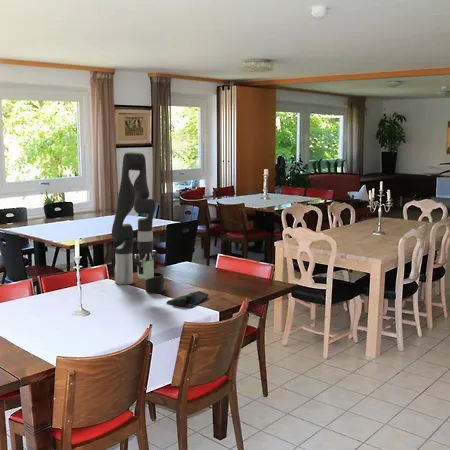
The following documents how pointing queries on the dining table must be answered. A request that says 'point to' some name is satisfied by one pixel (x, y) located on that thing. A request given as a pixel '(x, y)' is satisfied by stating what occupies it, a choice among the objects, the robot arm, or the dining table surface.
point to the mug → (155, 284)
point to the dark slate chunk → (188, 300)
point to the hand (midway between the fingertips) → (145, 272)
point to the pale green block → (147, 270)
